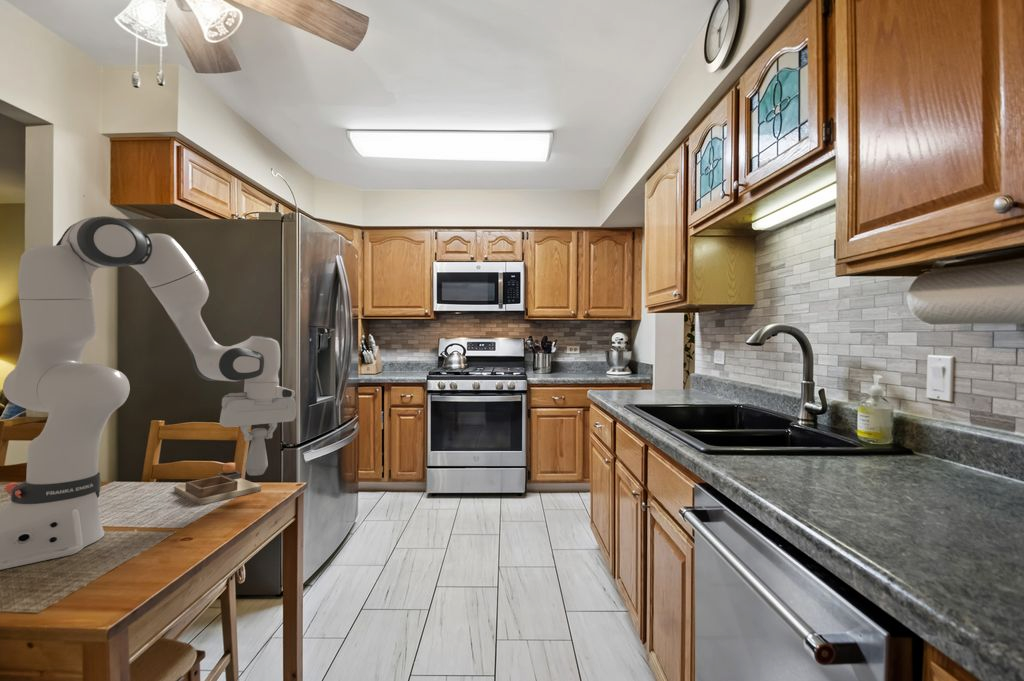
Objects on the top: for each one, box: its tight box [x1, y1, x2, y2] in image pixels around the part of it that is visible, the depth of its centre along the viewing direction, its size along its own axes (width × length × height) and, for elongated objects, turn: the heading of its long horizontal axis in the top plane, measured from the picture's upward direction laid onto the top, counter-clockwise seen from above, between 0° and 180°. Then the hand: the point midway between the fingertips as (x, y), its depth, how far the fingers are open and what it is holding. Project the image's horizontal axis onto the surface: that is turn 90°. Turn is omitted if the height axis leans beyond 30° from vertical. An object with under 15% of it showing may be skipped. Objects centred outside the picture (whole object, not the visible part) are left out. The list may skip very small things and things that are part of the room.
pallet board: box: [173, 470, 262, 506], centre depth 134 cm, size 16×18×4 cm
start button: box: [222, 462, 236, 473], centre depth 142 cm, size 3×3×2 cm
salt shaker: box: [244, 427, 269, 476], centre depth 130 cm, size 6×6×13 cm
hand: (258, 439), depth 131 cm, fingers closed on salt shaker, 4 cm apart
